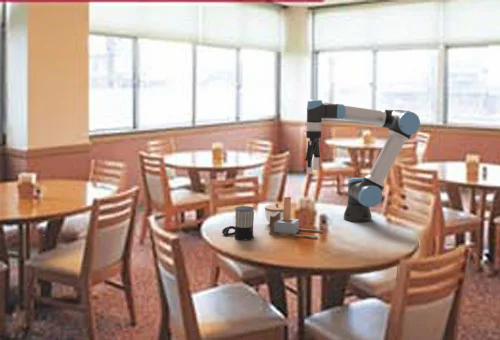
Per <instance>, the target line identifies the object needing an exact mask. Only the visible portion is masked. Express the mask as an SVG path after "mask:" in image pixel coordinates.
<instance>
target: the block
mask: <svg viewBox="0 0 500 340" xmlns="http://www.w3.org/2000/svg"><path fill="white" fill-rule="evenodd" d="M299 228H300V219H299V218H290V222H284V221H283V218H279V219H277V220H276V221H275V222H274V232H279V233H289V234H297V233H298V232H300V231H299Z"/></svg>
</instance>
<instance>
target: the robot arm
mask: <svg viewBox="0 0 500 340" xmlns="http://www.w3.org/2000/svg"><path fill="white" fill-rule="evenodd" d="M306 106H307V107H306V123H305V126H306V136H305V138H307V139H309V140H307V147H306V148H307V150H306V156H305V159H304V160H305V161H306V174H308V175H309V174H310V175H312V174H313V171H319V163H320V162H319V161H320V160H319V159H320V158H321V153H320V139H322V131H321V130H322V122H323V121H322V120H325V119H326V120H327V119H328V120H344V121H351V122H356V123H357V122H358V123H363V124H371V125H377V126H379V127H380V128H384V129H385V128H386V129H388V133H389V134H388V137H387V139H386V140H385V143H384V145H383V147H382V148H381V151H380V152H379V154H378V156H377V158H376V160H375V162H374V164H373V166H372V168H371V170H370V171H369V173H368V174H367V175H365V176H364V177H351V178H349V179H348V182H347V205H346V207H345V210H344V213H343V220H345V221H348V222H353V223H356V222H357V223H366V222H367V223H368V222H371V221H372V219H373V218H372V217H373V216H372V211H371V209H370V208H372V207H373V208H374V207H377V206H378V205H379V204H380V203H381V201H382V198H383V191H384V188H385V184H384V182H385V181H386V178H387V177H388V174H389V172H390V170H391V168H392V166H393V165H394V164H395V161H396V159H397V157H398V155H399V154H400V152H401V150H402V148H403V145H405V142H408V141H410V139H411V137H412V135H414V134H416V133H417V132H418V131H419V129H420V127H421V121H420V117H419V115H418V114H417V113H415V112H413V111H410V110H402V109H382V110H376V109H370V108H363V107H356V106H351V105H350V106H349V105H345V104H341V103H330V102H323V100H321V99H308V100H307V105H306Z"/></svg>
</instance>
